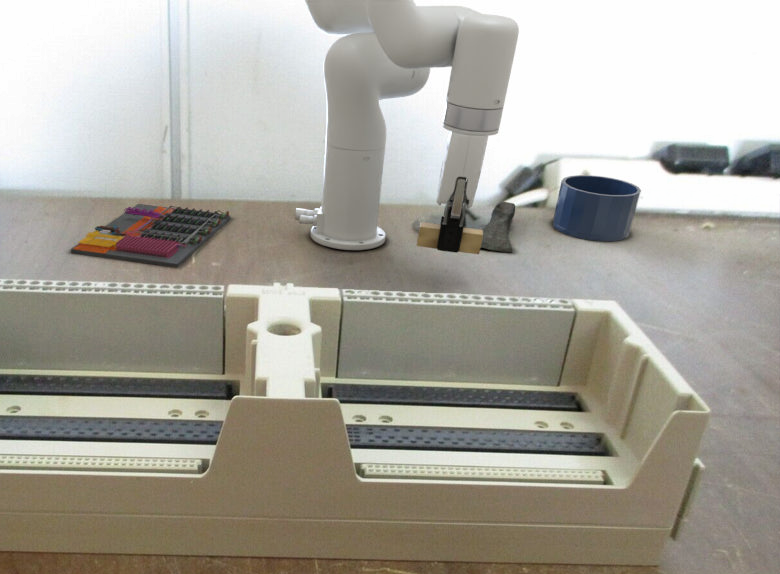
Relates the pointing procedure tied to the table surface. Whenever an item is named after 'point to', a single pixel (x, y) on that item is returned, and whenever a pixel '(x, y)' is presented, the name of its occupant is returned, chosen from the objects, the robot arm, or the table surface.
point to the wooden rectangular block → (468, 242)
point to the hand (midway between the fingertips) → (447, 246)
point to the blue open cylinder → (596, 207)
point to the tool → (498, 228)
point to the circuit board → (153, 235)
